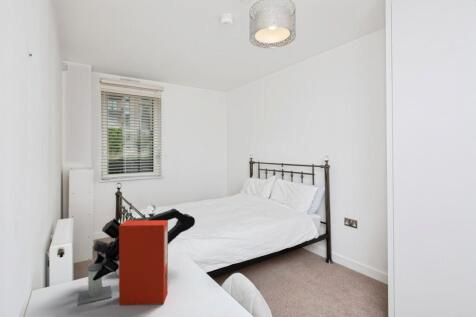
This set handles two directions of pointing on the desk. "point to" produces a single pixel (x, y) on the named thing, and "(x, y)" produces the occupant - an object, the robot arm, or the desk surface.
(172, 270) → the desk surface
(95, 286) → the tin canister
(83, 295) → the charcoal pad
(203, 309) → the desk surface
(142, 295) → the file binder
